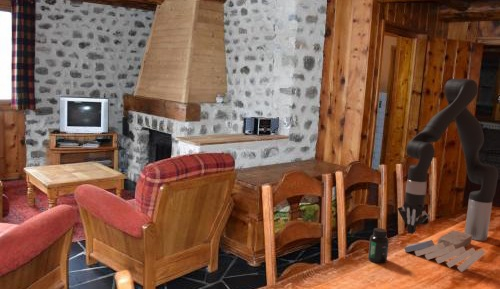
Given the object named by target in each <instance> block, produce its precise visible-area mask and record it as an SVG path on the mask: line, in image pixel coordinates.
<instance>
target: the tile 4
mask: <svg viewBox="0 0 500 289" xmlns="http://www.w3.org/2000/svg"><path fill="white" fill-rule="evenodd" d="M466 251H467V250H466V247H465V248H464V246H463V247H460V248H458V249H456V250H454V251H452V252H450V253H447V254H444V255H441V256H438V257H435V261H436V263H437V264H439V265H440V264H442V263H443V262H446V261H449V260H452V259H454V258H456V257H457V256H459V255H461V254H462V253H464V252H466Z"/></svg>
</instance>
